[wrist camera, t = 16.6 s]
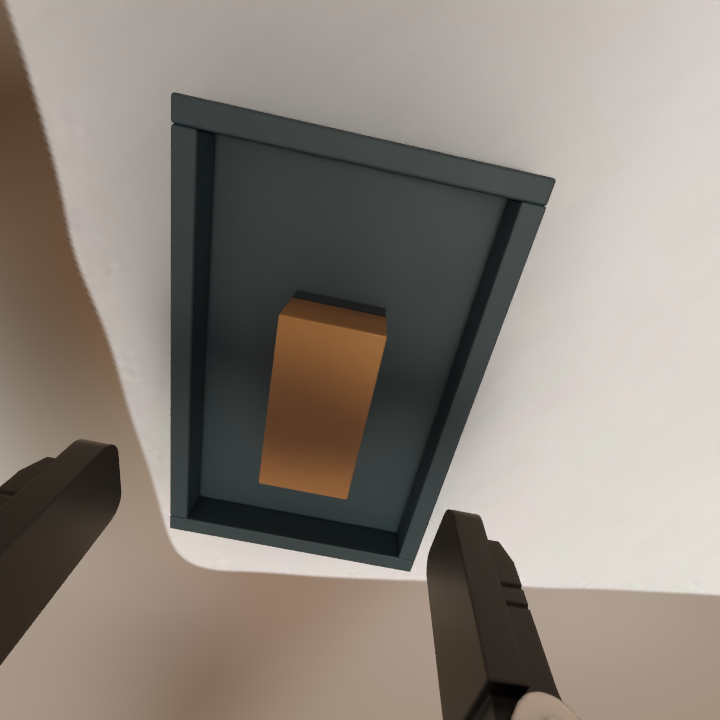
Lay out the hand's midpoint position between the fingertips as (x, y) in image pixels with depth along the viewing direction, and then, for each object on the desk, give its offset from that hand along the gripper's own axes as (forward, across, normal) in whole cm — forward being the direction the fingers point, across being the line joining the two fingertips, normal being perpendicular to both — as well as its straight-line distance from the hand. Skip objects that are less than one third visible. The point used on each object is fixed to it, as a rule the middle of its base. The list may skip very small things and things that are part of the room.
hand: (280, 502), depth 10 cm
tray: (+8, 0, 0) cm, 8 cm away
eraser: (+8, 0, 0) cm, 8 cm away
